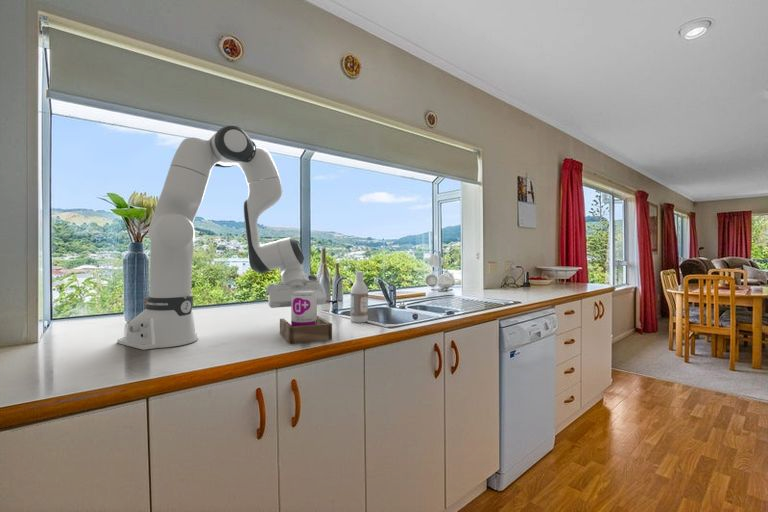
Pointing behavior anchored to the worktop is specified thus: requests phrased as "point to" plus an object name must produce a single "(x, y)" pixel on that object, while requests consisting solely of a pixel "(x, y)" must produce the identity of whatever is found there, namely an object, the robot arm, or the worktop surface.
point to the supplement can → (303, 308)
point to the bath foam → (359, 300)
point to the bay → (306, 331)
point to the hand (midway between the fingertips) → (301, 314)
